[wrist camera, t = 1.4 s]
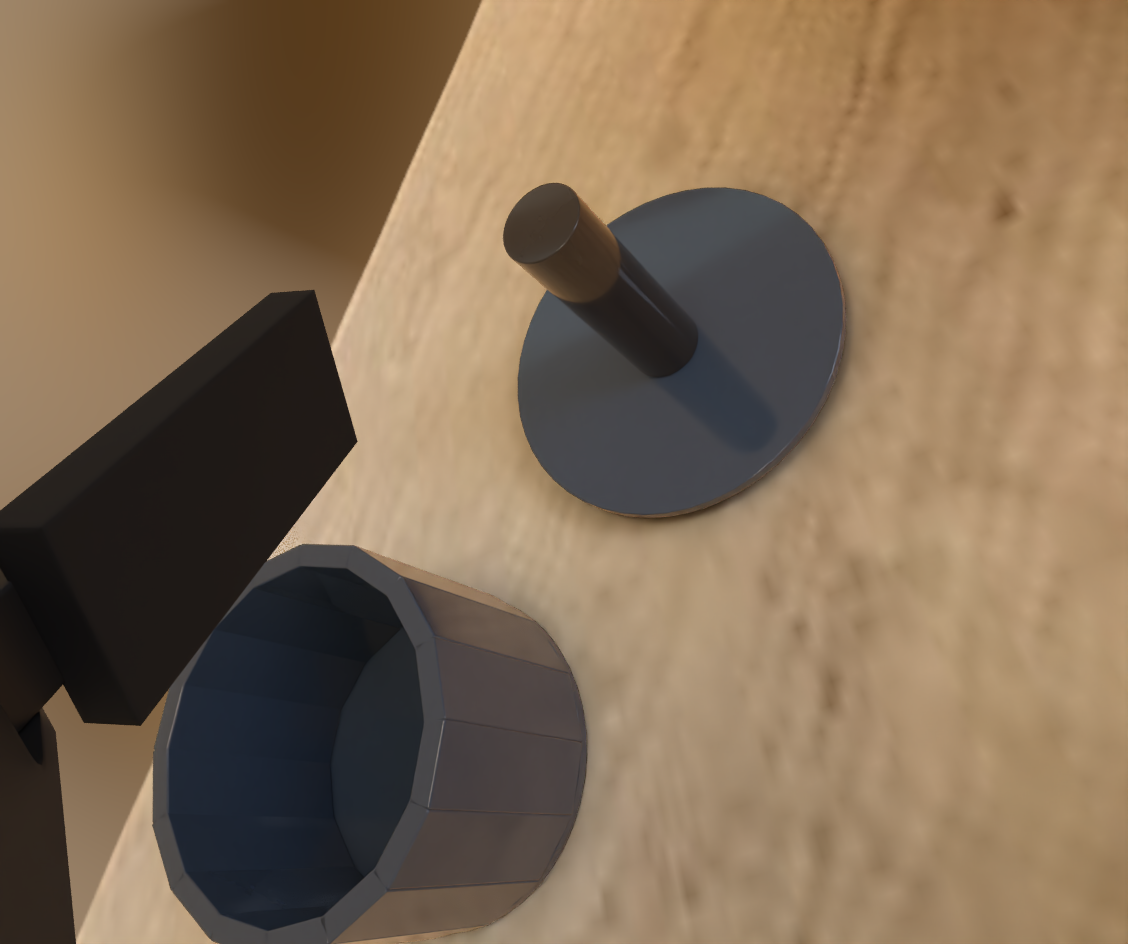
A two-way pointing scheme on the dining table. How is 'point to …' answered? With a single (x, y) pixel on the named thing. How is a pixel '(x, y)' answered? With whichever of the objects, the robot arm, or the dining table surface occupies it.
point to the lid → (672, 344)
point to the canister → (365, 757)
